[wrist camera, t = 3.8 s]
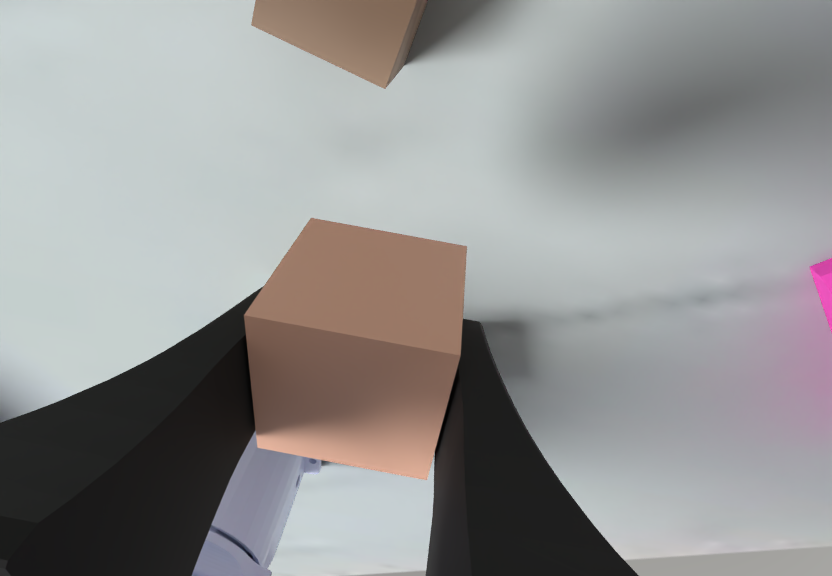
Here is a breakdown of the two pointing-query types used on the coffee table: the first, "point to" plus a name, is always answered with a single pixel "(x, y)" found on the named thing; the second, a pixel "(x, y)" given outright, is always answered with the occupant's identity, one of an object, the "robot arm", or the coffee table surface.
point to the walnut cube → (347, 31)
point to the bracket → (824, 286)
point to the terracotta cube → (357, 347)
